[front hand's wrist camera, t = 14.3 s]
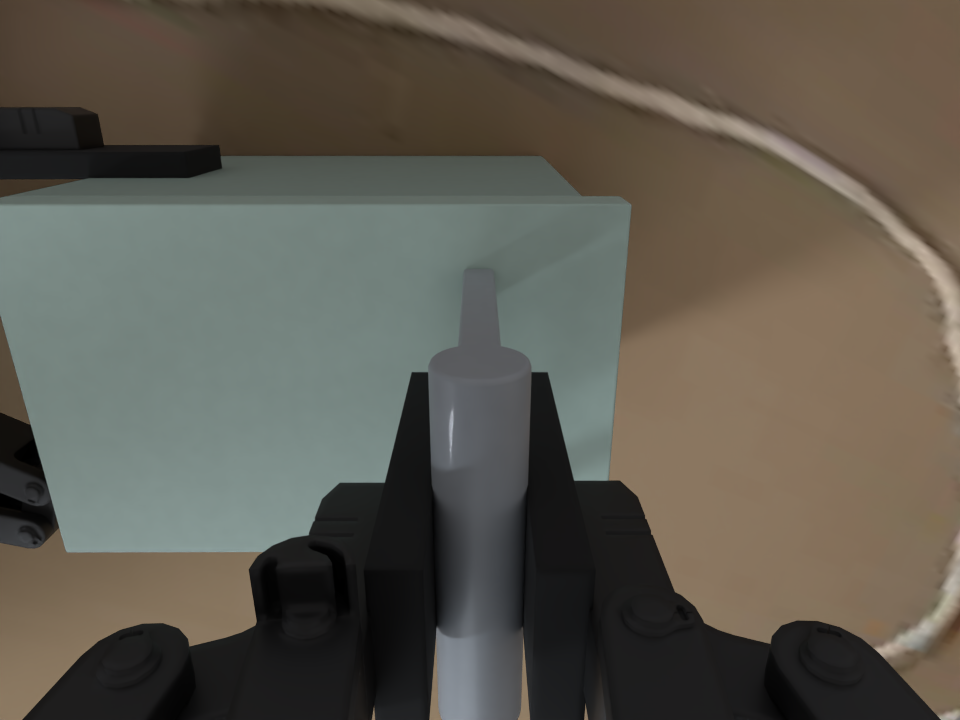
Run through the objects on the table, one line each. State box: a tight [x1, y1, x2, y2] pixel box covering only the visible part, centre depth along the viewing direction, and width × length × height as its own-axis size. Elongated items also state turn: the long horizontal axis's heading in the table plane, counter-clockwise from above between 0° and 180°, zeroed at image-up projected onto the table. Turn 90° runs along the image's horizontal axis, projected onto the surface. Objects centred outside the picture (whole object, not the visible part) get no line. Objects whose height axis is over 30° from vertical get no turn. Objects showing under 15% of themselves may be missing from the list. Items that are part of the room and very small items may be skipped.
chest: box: [10, 156, 581, 196], centre depth 23 cm, size 14×9×11 cm
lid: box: [0, 196, 631, 720], centre depth 14 cm, size 15×9×8 cm, turn 90°
